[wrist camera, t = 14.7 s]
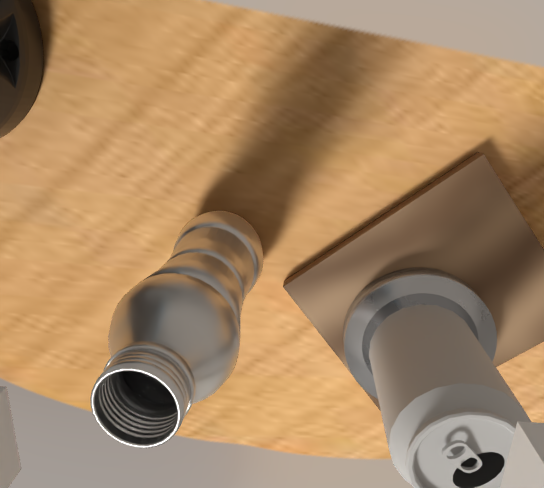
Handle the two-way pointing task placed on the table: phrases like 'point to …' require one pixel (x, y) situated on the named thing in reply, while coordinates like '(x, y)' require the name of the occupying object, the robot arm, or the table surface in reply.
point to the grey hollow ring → (404, 293)
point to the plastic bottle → (178, 331)
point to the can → (442, 400)
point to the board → (439, 258)
